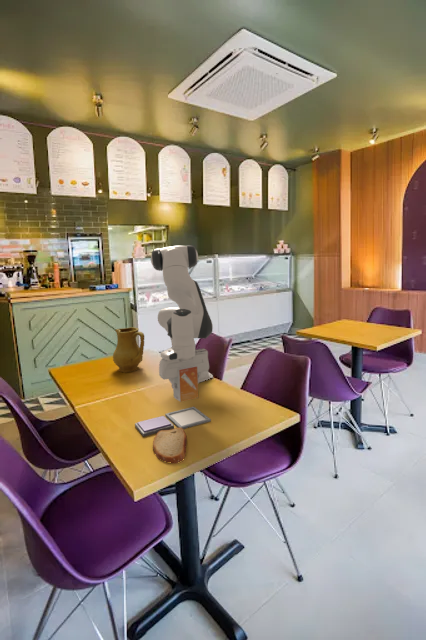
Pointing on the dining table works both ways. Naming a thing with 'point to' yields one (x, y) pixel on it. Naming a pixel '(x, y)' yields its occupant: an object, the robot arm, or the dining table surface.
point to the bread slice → (170, 445)
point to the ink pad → (153, 425)
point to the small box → (186, 384)
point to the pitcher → (128, 349)
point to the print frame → (187, 417)
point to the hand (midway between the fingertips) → (185, 385)
